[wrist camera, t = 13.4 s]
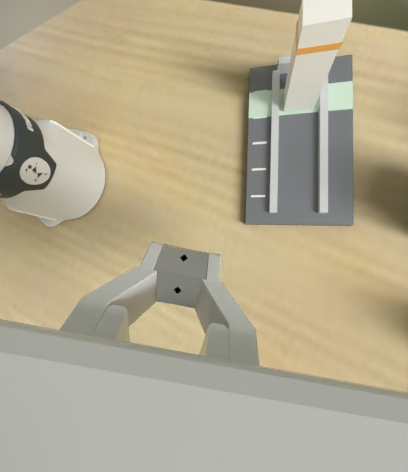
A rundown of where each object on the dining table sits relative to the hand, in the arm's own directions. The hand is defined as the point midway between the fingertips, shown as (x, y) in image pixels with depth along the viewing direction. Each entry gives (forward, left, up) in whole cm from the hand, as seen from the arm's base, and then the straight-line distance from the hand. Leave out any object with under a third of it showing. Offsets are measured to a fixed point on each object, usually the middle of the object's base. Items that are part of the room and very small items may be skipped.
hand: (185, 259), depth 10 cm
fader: (-2, +24, -22) cm, 33 cm away
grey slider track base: (+1, +19, -24) cm, 30 cm away
